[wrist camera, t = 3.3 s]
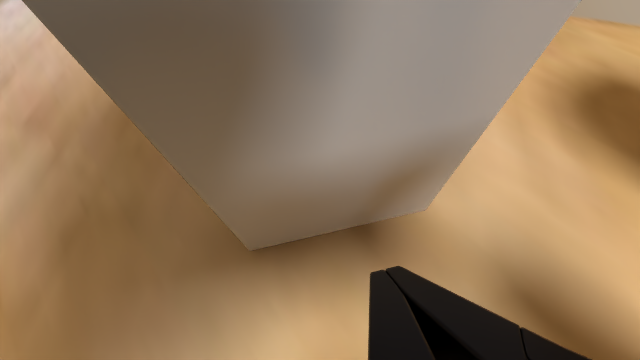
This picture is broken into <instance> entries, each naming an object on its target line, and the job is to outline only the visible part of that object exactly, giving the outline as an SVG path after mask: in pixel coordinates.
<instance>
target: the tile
mask: <svg viewBox="0 0 640 360" xmlns="http://www.w3.org/2000/svg"><path fill="white" fill-rule="evenodd" d="M22 1H23V2H24V3H25V4H26V5H27V6H28V8H29V9H30V10H31V11H32V12H33V13H34V14H35V15H36V16H37V17H38V19H39V20H40V21H41V22H42V23H43V24H44V25H45V26H46V27H47V29H48V30H49V31H50V32H51V33H52V34H53V35H54V36H55V37H56V38H57V40H58V41H59V42H60V43H61V44H62V45H63V46H64V47H65V48H66V49H67V51H68V52H69V53H70V54H71V55H72V56H73V57H74V58H75V59H76V60H77V62H78V63H79V64H80V65H81V66H82V67H83V68H84V69H85V70H86V71H87V73H88V74H89V75H90V76H91V77H92V78H93V79H94V80H95V81H96V83H97V84H98V85H99V86H100V87H101V88H102V89H103V90H104V91H105V92H106V94H107V95H108V96H109V97H110V98H111V99H112V100H113V101H114V102H115V103H116V105H117V106H118V107H119V108H120V109H121V110H122V111H123V112H124V113H125V114H126V116H127V117H128V118H129V119H130V120H131V121H132V122H133V123H134V124H135V125H136V127H137V128H138V129H139V130H140V131H141V132H142V133H143V134H144V135H145V137H146V138H147V139H148V140H149V141H150V142H151V143H152V144H153V145H154V146H155V148H156V149H157V150H158V151H159V152H160V153H161V154H162V155H163V156H164V157H165V159H166V160H167V161H168V162H169V163H170V164H171V165H172V166H173V167H174V168H175V170H176V171H177V172H178V173H179V174H180V175H181V176H182V177H183V178H184V179H185V181H186V182H187V183H188V184H189V185H190V186H191V187H192V188H193V189H194V191H195V192H196V193H197V194H198V195H199V196H200V197H201V198H202V199H203V200H204V202H205V203H206V204H207V205H208V206H209V207H210V208H211V209H212V210H213V211H214V213H215V214H216V215H217V216H218V217H219V218H220V219H221V220H222V221H223V222H224V224H225V225H226V226H227V227H228V228H229V229H230V230H231V231H232V232H233V233H234V235H235V236H236V237H237V238H238V239H239V240H240V241H241V242H242V243H243V244H244V246H245V247H246V248H247V249H248V250H249V251H253V250H257V249H261V248H266V247H270V246H274V245H279V244H283V243H287V242H291V241H296V240H300V239H304V238H309V237H313V236H317V235H321V234H326V233H330V232H334V231H339V230H343V229H347V228H351V227H356V226H360V225H364V224H369V223H373V222H377V221H381V220H386V219H390V218H394V217H398V216H403V215H407V214H411V213H416V212H420V211H424V210H426V209H427V208H428V206H429V205H430V203H431V202H432V201H433V199H434V198H435V197H436V195H437V194H438V193H439V191H440V190H441V189H442V187H443V186H444V185H445V183H446V182H447V181H448V179H449V178H450V177H451V175H452V174H453V173H454V171H455V170H456V169H457V167H458V166H459V164H460V163H461V162H462V160H463V159H464V158H465V156H466V155H467V154H468V152H469V151H470V150H471V148H472V147H473V146H474V144H475V143H476V142H477V140H478V139H479V138H480V136H481V135H482V134H483V132H484V131H485V130H486V128H487V127H488V125H489V124H490V123H491V121H492V120H493V119H494V117H495V116H496V115H497V113H498V112H499V111H500V109H501V108H502V107H503V105H504V104H505V103H506V101H507V100H508V99H509V97H510V96H511V95H512V93H513V92H514V91H515V89H516V88H517V86H518V85H519V84H520V82H521V81H522V80H523V78H524V77H525V76H526V74H527V73H528V72H529V70H530V69H531V68H532V66H533V65H534V64H535V62H536V61H537V60H538V58H539V57H540V56H541V54H542V53H543V52H544V50H545V49H546V47H547V46H548V45H549V43H550V42H551V41H552V39H553V38H554V37H555V35H556V34H557V33H558V31H559V30H560V29H561V27H562V26H563V25H564V23H565V22H566V21H567V19H568V18H569V17H570V15H571V14H572V13H573V11H574V10H575V8H576V7H577V6H578V4H579V3H580V2H581V0H22Z"/></svg>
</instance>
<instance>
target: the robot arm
mask: <svg viewBox="0 0 640 360" xmlns="http://www.w3.org/2000/svg"><path fill="white" fill-rule="evenodd" d="M368 360H592V359H590V358H587V357H585V356H583V355H581V354H578V353H576V352H574V351H571V350H569V349H567V348H565V347H563V346H561V345H559V344H557V343H554V342H552V341H550V340H548V339H546V338H544V337H542V336H540V335H538V334H536V333H534V332H532V331H530V330H528V329H526V328H524V327H521V328H520V327H519V325H517V324H515V323H513V322H511V321H509V320H507V319H505V318H503V317H501V316H499V315H497V314H495V313H493V312H491V311H489V310H487V309H485V308H483V307H481V306H479V305H477V304H475V303H473V302H471V301H469V300H467V299H465V298H463V297H461V296H459V295H457V294H455V293H453V292H451V291H449V290H447V289H445V288H443V287H441V286H439V285H437V284H435V283H433V282H431V281H429V280H427V279H425V278H423V277H421V276H419V275H417V274H415V273H413V272H411V271H409V270H407V269H405V268H403V267H400V266H396V267H392V268H388V269H386V270H380V271H375V272H372V273H371V274H370V296H369V338H368Z"/></svg>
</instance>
